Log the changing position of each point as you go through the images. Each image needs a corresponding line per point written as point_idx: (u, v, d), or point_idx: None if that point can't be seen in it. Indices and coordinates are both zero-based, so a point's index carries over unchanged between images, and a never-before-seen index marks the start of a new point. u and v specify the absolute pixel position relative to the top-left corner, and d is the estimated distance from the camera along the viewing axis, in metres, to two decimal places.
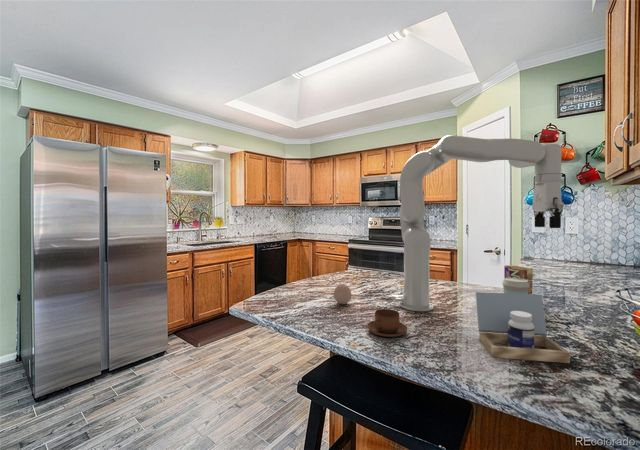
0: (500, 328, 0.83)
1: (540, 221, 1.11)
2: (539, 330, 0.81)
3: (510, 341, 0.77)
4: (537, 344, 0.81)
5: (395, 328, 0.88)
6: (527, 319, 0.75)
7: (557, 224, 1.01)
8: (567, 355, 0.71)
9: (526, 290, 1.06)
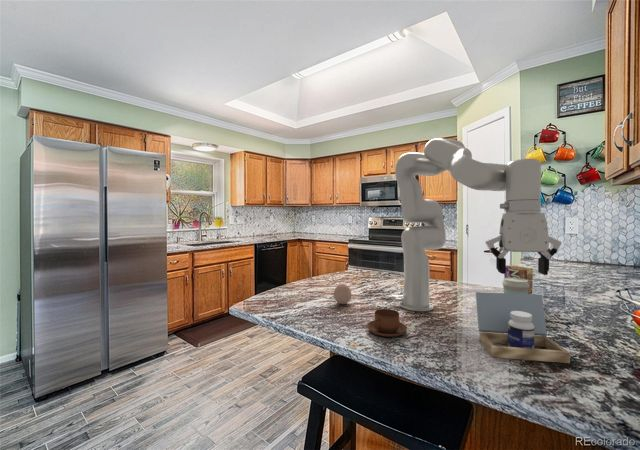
0: (500, 328, 0.83)
1: None
2: (539, 330, 0.81)
3: (510, 341, 0.77)
4: (537, 344, 0.81)
5: (395, 328, 0.88)
6: (527, 319, 0.75)
7: None
8: (567, 355, 0.71)
9: (526, 290, 1.06)
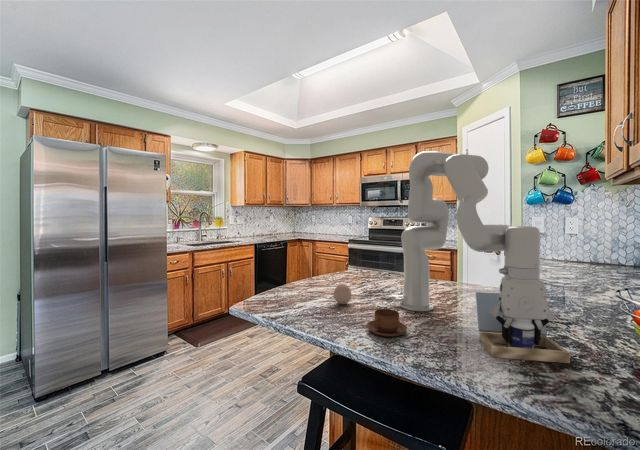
0: (500, 328, 0.83)
1: None
2: None
3: None
4: None
5: (395, 328, 0.88)
6: (527, 319, 0.75)
7: None
8: (567, 355, 0.71)
9: None
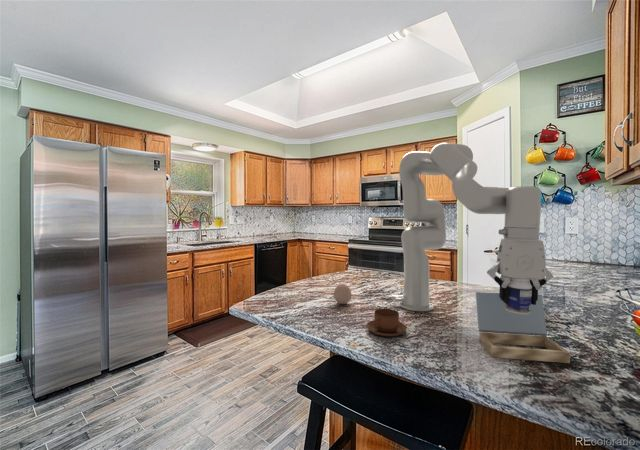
0: (500, 328, 0.83)
1: None
2: (539, 330, 0.81)
3: (508, 301, 0.78)
4: (537, 344, 0.81)
5: (394, 328, 0.89)
6: (525, 279, 0.75)
7: None
8: (567, 355, 0.71)
9: None
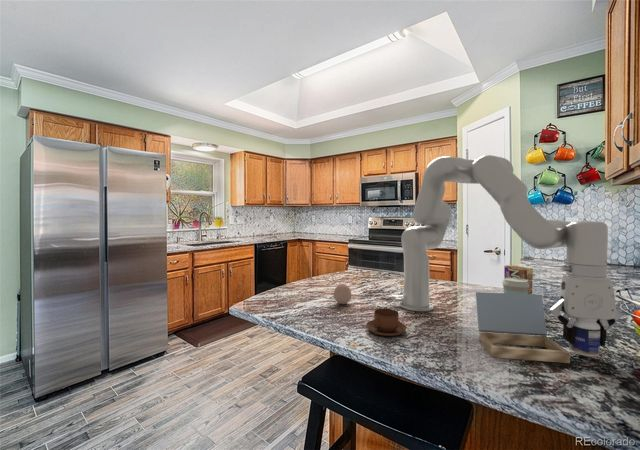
0: (500, 328, 0.83)
1: None
2: (539, 330, 0.81)
3: None
4: (537, 344, 0.81)
5: (394, 327, 0.89)
6: (593, 319, 0.71)
7: None
8: (567, 355, 0.71)
9: (526, 290, 1.06)
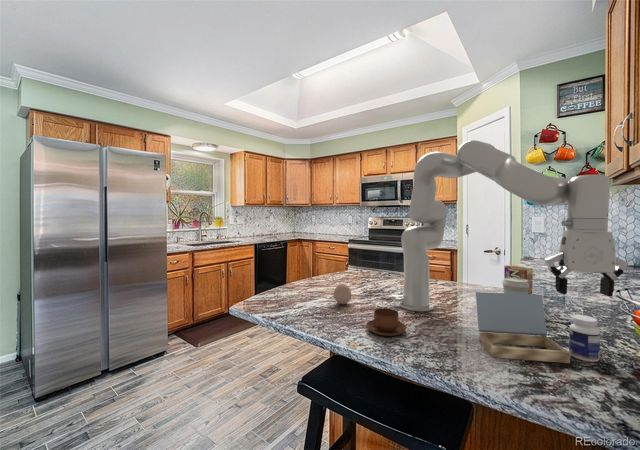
0: (500, 328, 0.83)
1: None
2: (539, 330, 0.81)
3: (573, 346, 0.74)
4: (537, 344, 0.81)
5: (394, 327, 0.89)
6: (593, 324, 0.72)
7: None
8: (567, 355, 0.71)
9: (526, 290, 1.06)
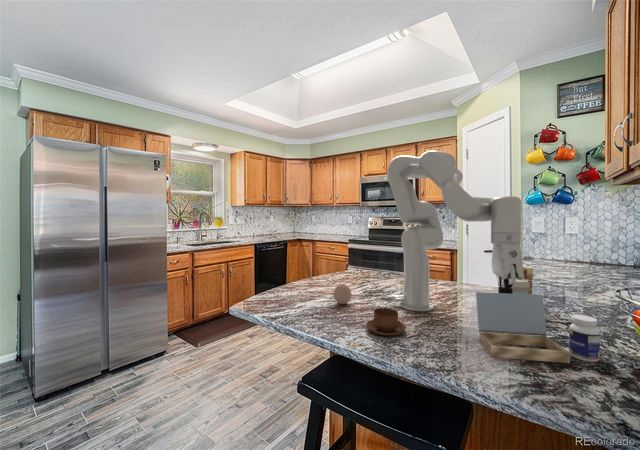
0: (500, 328, 0.83)
1: None
2: (539, 330, 0.81)
3: (573, 346, 0.74)
4: (537, 344, 0.81)
5: (393, 327, 0.89)
6: (593, 324, 0.72)
7: None
8: (567, 355, 0.71)
9: (526, 290, 1.06)
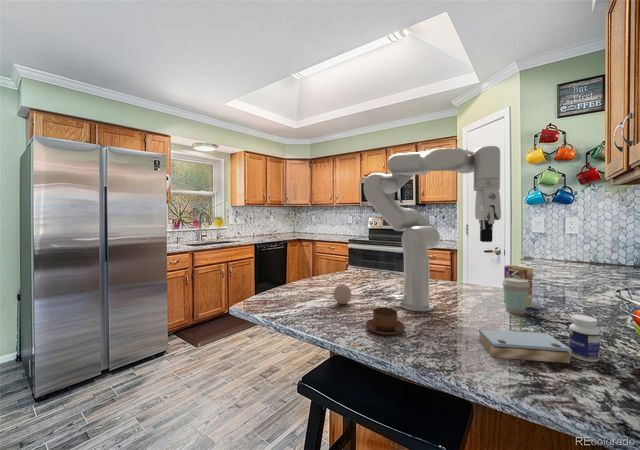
0: None
1: None
2: None
3: (573, 346, 0.74)
4: None
5: (393, 326, 0.90)
6: (593, 324, 0.72)
7: None
8: (567, 355, 0.71)
9: (526, 290, 1.06)
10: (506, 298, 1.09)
